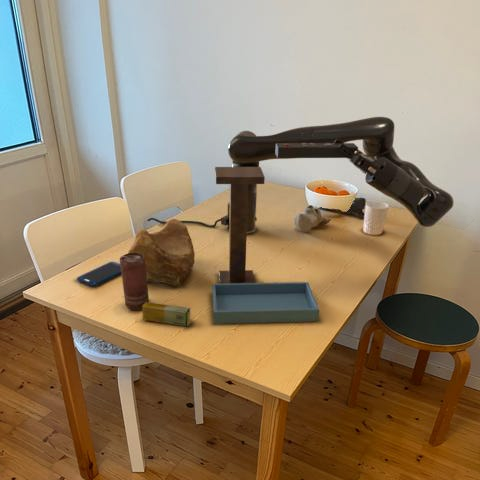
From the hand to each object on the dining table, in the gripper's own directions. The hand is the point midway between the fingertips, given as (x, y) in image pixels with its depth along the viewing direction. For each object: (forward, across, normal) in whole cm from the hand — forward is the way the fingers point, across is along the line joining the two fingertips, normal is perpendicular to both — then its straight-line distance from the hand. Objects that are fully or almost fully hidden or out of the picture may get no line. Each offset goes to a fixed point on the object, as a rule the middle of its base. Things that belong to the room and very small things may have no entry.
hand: (337, 144), depth 120 cm
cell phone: (+36, -6, +65) cm, 74 cm away
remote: (+3, 0, +5) cm, 6 cm away
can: (+26, +11, +60) cm, 66 cm away
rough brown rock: (+19, -4, +56) cm, 59 cm away
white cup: (-43, -37, +20) cm, 60 cm away
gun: (-37, -56, +24) cm, 71 cm away
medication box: (+19, +20, +55) cm, 62 cm away
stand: (+2, 0, +46) cm, 46 cm away
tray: (-3, +14, +43) cm, 45 cm away
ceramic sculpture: (-24, -41, +31) cm, 57 cm away
